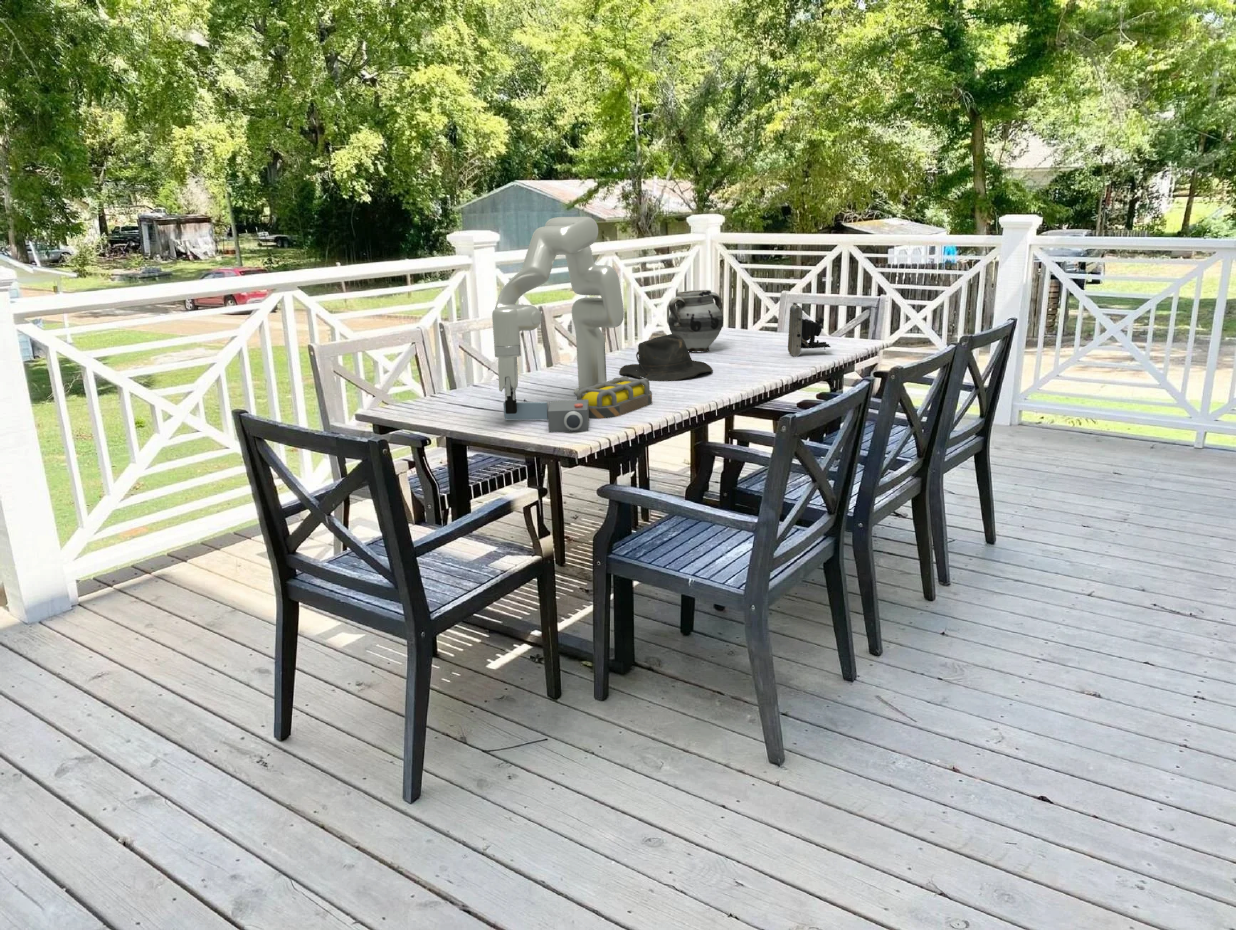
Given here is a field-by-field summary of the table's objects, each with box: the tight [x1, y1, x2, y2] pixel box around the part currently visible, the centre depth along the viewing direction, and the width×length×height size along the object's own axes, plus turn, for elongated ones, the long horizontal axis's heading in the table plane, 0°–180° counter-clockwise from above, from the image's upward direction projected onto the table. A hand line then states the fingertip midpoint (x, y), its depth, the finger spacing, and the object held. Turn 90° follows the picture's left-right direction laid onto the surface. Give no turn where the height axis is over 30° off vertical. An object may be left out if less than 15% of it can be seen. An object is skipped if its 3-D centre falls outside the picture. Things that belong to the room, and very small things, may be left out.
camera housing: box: [547, 399, 590, 433], centre depth 266 cm, size 16×11×7 cm
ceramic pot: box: [667, 289, 724, 352], centre depth 384 cm, size 29×23×25 cm
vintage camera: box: [787, 303, 831, 357], centre depth 366 cm, size 10×16×20 cm, turn 89°
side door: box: [503, 401, 551, 421], centre depth 275 cm, size 14×1×5 cm, turn 80°
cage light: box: [576, 375, 653, 420], centre depth 286 cm, size 15×8×30 cm
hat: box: [618, 333, 714, 382], centre depth 341 cm, size 32×35×14 cm
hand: (511, 413), depth 273 cm, fingers closed
